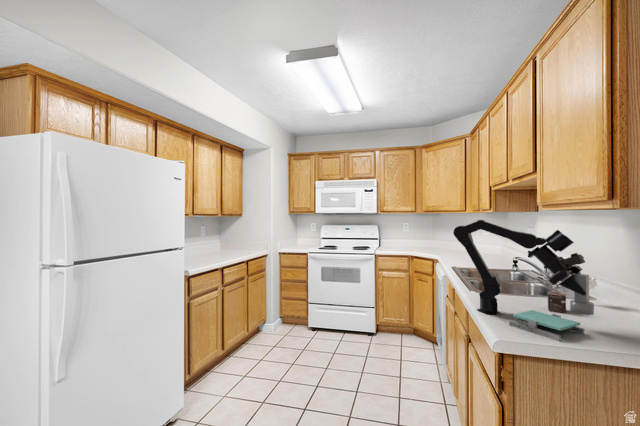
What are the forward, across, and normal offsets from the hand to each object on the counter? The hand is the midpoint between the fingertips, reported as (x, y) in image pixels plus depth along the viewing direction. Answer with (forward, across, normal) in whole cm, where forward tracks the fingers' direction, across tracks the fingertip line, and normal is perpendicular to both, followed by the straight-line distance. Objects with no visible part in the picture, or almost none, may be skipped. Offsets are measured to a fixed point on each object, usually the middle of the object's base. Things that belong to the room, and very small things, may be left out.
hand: (586, 293), depth 112 cm
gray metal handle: (+4, 0, +6) cm, 7 cm away
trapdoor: (+1, -10, +15) cm, 18 cm away
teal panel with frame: (+2, -10, +16) cm, 19 cm away
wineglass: (+3, +41, +16) cm, 44 cm away
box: (-1, +19, +20) cm, 28 cm away
